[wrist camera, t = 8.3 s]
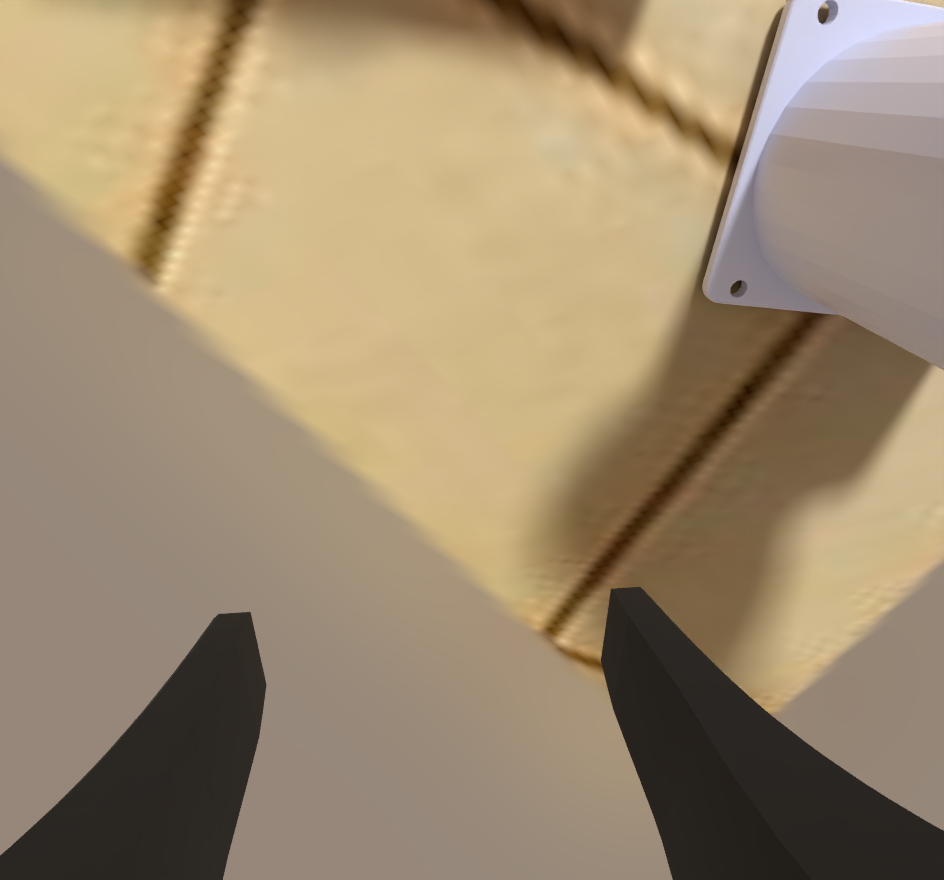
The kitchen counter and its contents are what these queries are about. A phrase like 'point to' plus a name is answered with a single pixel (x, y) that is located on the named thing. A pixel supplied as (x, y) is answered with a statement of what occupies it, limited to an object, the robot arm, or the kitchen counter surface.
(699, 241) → the kitchen counter surface
